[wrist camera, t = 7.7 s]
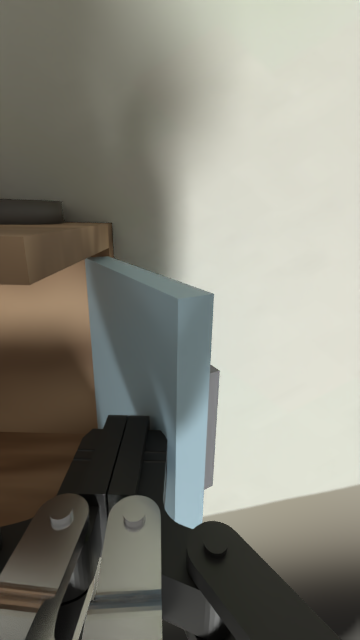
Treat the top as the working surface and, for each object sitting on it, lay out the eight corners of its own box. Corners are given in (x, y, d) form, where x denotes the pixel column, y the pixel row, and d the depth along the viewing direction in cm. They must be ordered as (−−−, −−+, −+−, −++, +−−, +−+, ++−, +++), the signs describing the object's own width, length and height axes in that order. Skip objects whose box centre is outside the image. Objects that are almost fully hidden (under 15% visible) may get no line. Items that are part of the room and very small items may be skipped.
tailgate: (84, 257, 16) (178, 298, 9) (122, 255, 17) (235, 290, 10) (98, 438, 19) (174, 576, 12) (129, 428, 20) (216, 549, 13)
